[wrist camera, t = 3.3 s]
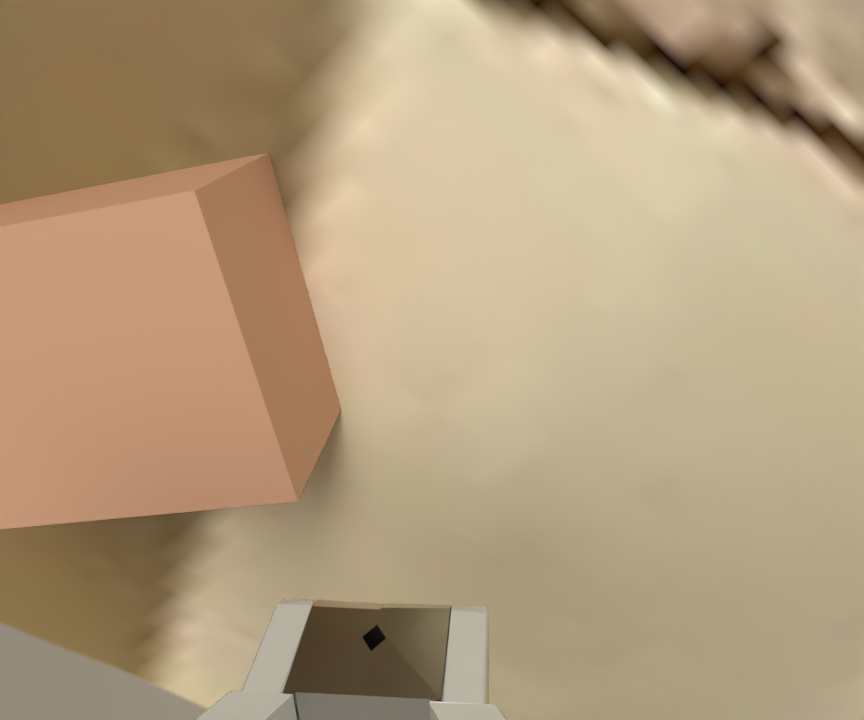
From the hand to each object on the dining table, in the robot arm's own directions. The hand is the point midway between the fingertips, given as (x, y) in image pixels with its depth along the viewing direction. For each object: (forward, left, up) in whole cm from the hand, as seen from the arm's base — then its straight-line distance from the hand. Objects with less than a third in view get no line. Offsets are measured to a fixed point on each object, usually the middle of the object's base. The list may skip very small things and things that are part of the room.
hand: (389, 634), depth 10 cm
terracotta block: (+9, 0, -12) cm, 15 cm away
